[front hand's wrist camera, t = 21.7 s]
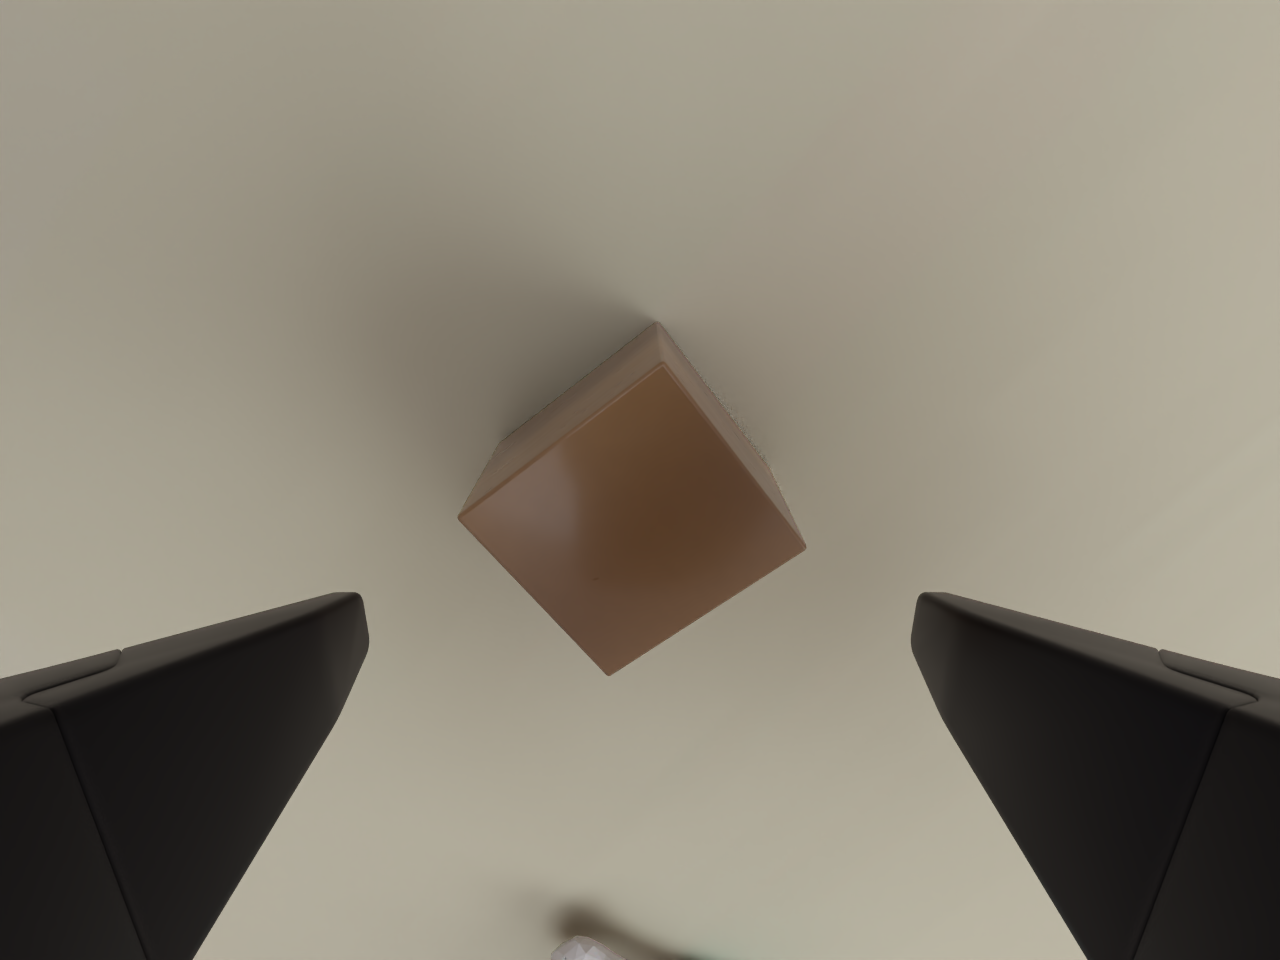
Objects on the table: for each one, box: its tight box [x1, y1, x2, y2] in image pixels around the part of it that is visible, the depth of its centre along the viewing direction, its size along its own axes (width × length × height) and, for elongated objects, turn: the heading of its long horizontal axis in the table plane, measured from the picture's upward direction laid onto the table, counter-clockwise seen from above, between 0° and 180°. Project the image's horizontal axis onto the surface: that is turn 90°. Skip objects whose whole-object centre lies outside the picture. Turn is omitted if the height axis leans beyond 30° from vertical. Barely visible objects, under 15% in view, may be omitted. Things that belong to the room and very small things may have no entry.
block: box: [458, 322, 806, 676], centre depth 16 cm, size 5×5×4 cm
